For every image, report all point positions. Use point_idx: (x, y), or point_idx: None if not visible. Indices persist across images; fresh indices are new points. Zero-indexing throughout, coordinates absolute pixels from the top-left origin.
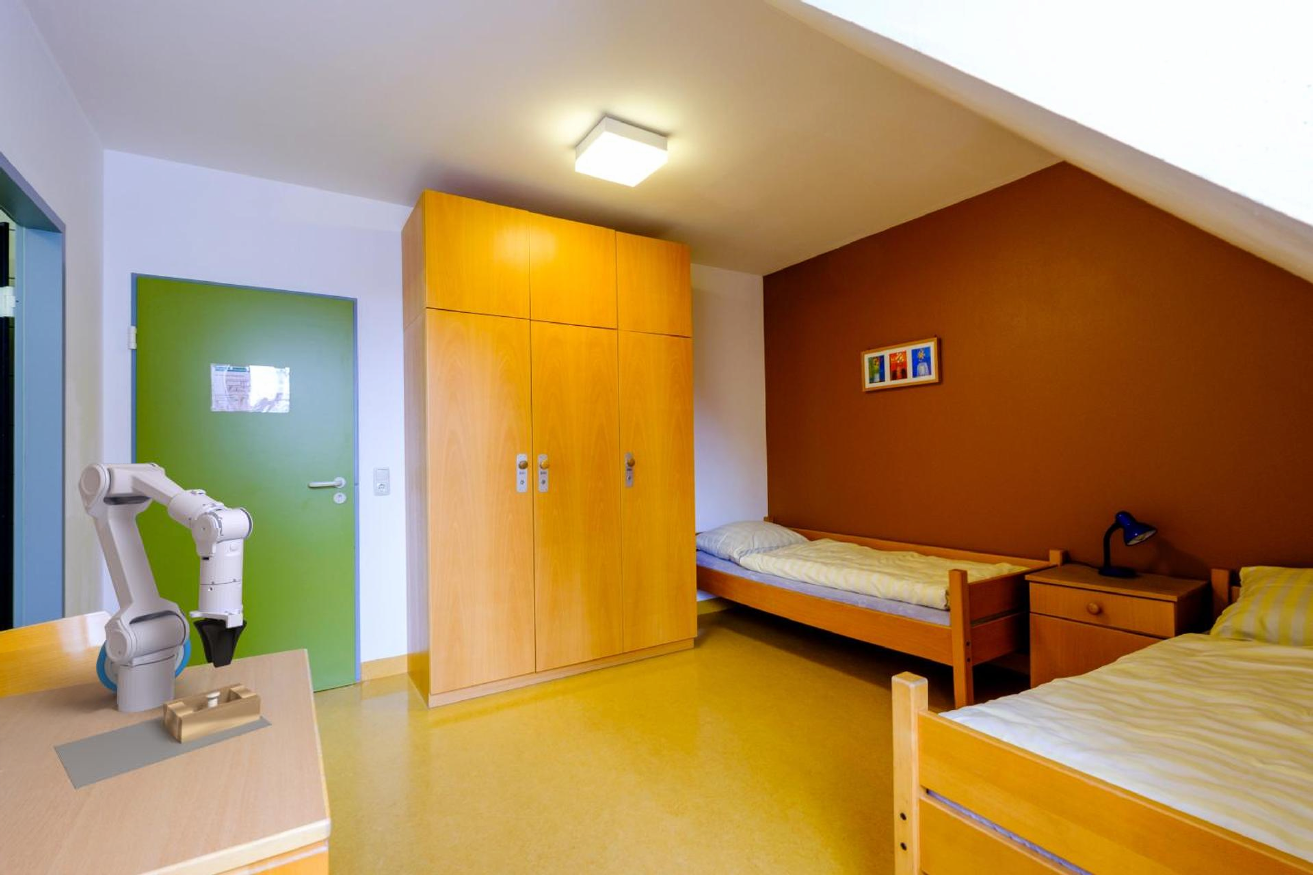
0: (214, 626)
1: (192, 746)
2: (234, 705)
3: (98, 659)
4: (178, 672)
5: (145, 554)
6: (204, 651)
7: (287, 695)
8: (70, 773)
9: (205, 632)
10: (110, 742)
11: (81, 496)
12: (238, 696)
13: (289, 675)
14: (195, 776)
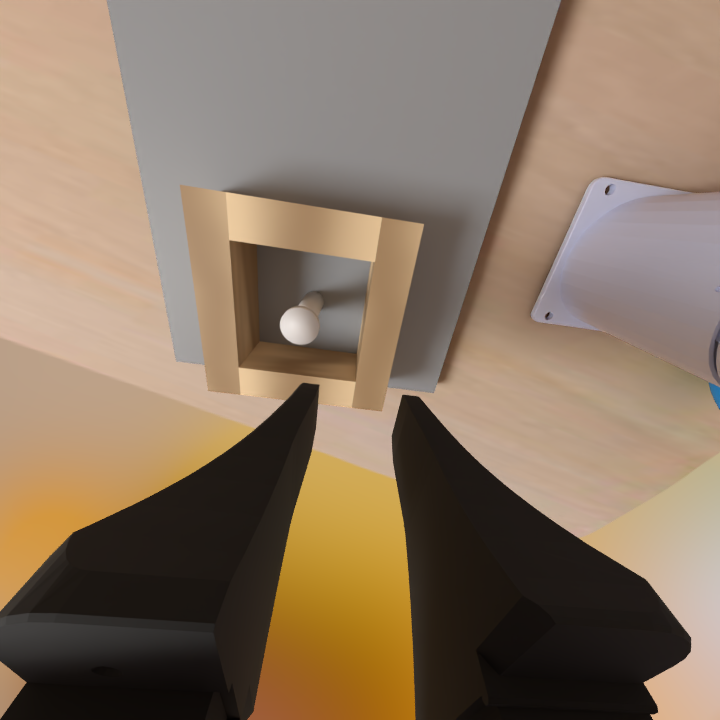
0: (36, 659)
1: (174, 200)
2: (200, 332)
3: None
4: (716, 389)
5: None
6: (435, 422)
7: (365, 446)
8: None
9: (231, 532)
10: (423, 57)
11: None
12: (280, 369)
13: None
14: (34, 145)
